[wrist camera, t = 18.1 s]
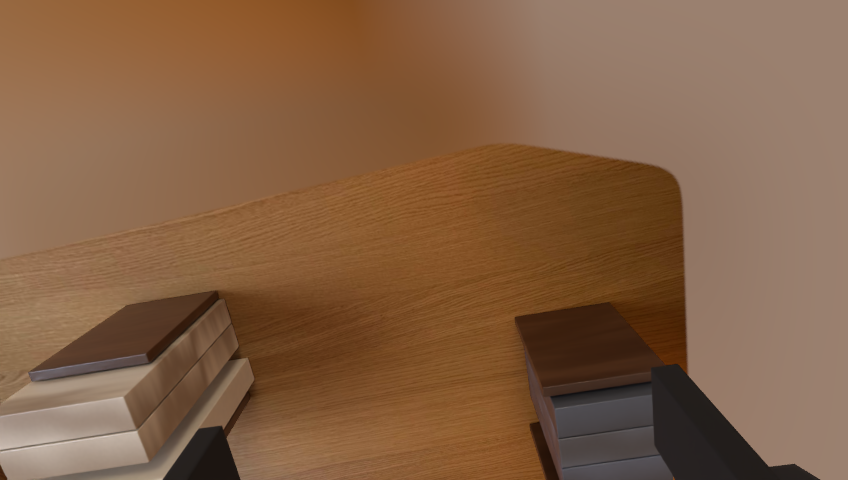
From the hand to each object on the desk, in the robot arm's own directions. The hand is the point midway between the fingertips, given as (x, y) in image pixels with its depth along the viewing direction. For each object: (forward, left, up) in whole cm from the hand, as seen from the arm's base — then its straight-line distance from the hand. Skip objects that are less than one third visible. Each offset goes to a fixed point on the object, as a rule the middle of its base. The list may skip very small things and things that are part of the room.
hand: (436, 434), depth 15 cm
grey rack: (+7, +19, -30) cm, 37 cm away
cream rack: (+24, -14, -30) cm, 41 cm away
